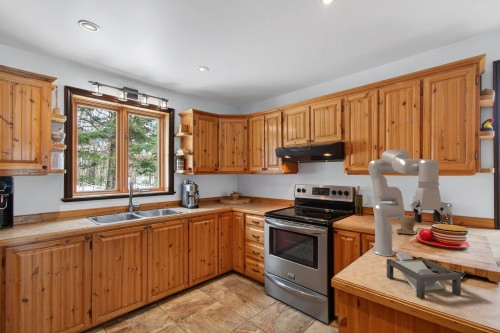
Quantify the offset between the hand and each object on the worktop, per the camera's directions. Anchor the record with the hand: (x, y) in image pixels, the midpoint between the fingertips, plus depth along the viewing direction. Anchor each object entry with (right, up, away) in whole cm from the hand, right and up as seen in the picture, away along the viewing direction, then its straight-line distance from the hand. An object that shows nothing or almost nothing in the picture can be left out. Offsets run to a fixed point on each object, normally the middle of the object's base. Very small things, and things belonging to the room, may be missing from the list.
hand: (427, 221), depth 111 cm
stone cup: (+45, -30, +83) cm, 99 cm away
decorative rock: (+20, -30, +12) cm, 38 cm away
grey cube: (-4, -26, -3) cm, 27 cm away
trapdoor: (-5, -24, +2) cm, 25 cm away
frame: (-4, -29, -2) cm, 30 cm away
